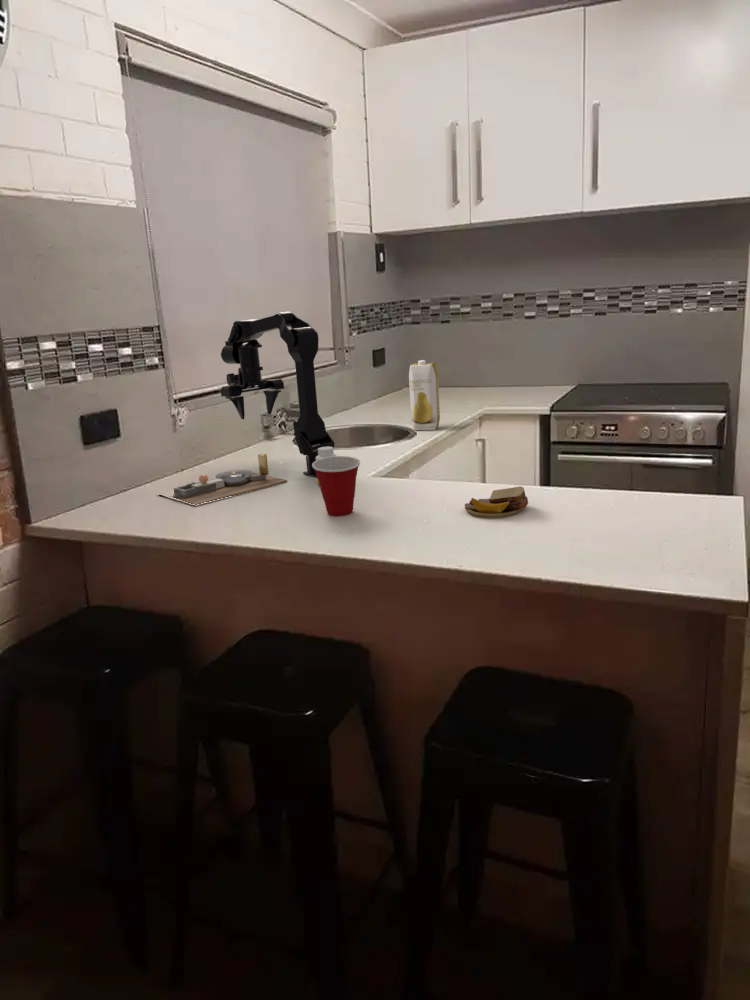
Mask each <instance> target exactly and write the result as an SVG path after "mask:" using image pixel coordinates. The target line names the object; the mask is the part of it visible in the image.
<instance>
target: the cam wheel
mask: <svg viewBox="0 0 750 1000" xmlns="http://www.w3.org/2000/svg"><path fill="white" fill-rule="evenodd" d="M267 455H268V454H267V453H259V454H257V459H258V460H257V461H258V462H257V463H258V469H259V473H258V474H259V475H253V473H254V472H253V471H252V470H250V469H249V470H248V469H235V470H226V471H223V472H219V473H217V474H216V475H215V478H216V479H222V480H224V486H237V485H242V484H246V483H248V482H250V481H255V480H264V479H266V476H265V475H267V476H269V475H270V474H269V473H270V472H269V464H268V456H267Z"/></svg>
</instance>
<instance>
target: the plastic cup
mask: <svg viewBox="0 0 750 1000" xmlns="http://www.w3.org/2000/svg"><path fill="white" fill-rule="evenodd" d="M360 465H361V460H360V459H359V458H357V457H353V456H346V455H345V456H343V455H338V456H335V457H327V458H322V459H319V460H316V461H315V462H313V463H312V467H313V468H314V470H315V472H316V474H317V477H316V478H318V479H317V482H318V481H319V484H320V487H319V488H320V491H321V496H322V498H323V502H324V505H325V509H326V513H327V515H328V516H332V517H343V516H348V515H351V514H352V513H353V512H354V511H353V510H354V501H355V495H356V494H355V493H356V485H357V475H358V471H359V470H358V469H359V466H360Z"/></svg>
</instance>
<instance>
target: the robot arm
mask: <svg viewBox="0 0 750 1000" xmlns="http://www.w3.org/2000/svg"><path fill="white" fill-rule="evenodd" d="M289 328H291V329H289ZM276 330H279V337H280V338H281V339H282V340H283V341H284V342H285V344H286V347H287V352H288V354H289V355H290V357H291V358H292V360H293V361H294V363H295V374H296V375H295V376H296V385H297V396H298V406H299V409H298V410H299V415H298V418H297V420H294V421H293V423H292V426H293V436H294V439H295V441H296V445H297V448H298V450H299V454H300V455H303V456H305V461H306V470H307V471H303V473H302V474H303V475H307V476H311V477H315V478H317V474H316V472H315V470H314V468H313V467H312V463H313V462H315V461H316V456H318V448H321V447H333V450H334V449H335V444H336V443H335V442H334V440H333V438H332V437H331V435H330V434H329V433H328V431H327V430H326V425H325V421H324V419H323V418H322V417H321V416H320V414H319V410H318V409H319V407H318V397H317V387H316V373H315V359H316V356H317V354H318V353H319V333H318V331H316V329H315V328H313V327H312V326H311V325H310V324H309V323H308V322H307V321H304V320H303V319H300V318H299V317H297V316H296V314H294V313H293V312H292V311H283V312H281V311H280V312H277V313H275V314H272V315H269V316H266V317H262V318H259V319H256V318H255V319H243V320H234V322H233V324H232V327H231V330H230V333H229V337H228V338H227V340H226V341H224V344H225V345H224V346H223V347H222V349H221V352H220V357H221V359H222V361H223V362H224V363H225V364H229V365H239V366H240V367H239V368H238V370H237V371H238V373H237V374H235V373H233V372H231V373H228V374H226V383H227V385H224V386H221V389H220V396H221V397H224V398H225V399H227V400H229V401H231V402H232V404H233V405H234V406H235V409H236V410H237V414H238V415H239V417H240V419H241V420H245V401H244V400H245V398H244V396H241V395H242V394H243V393H248V392H255V391H261V390H262V392H263V394H264V396H265V403H266V410H267V415H271V414H272V411H273V409H274V407H275V403H276V400H277V398H278V396H279V393H281V392H282V390H283V389H285V383H284V381H283V380H282V378H270V379H264V380H262V379H263V378H262V373H261V372H262V371H263V370H264V368H263V366H261V363H260V355H259V353H260V352H259V348H262V347H263V345H262V344H261V343H260V342H259V341H258V339H259V338H260V337H262V336H263V334H265V333H269V332H271V331H276Z"/></svg>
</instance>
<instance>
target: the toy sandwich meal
mask: <svg viewBox="0 0 750 1000" xmlns="http://www.w3.org/2000/svg"><path fill="white" fill-rule="evenodd" d="M528 504H529V498H528V497H527V495H526V491H525V488H524V487H523V486H516V487H514V486H513V487H509V488H501V489H495V490H493V491H492V492H491V494H490V496H489V498H479V499H477V498H474V497H471V499H470V501H469V502H468V503H467V502H466V503H464V509H465V511H466V512H467V513H468V514H469V515H471V516H473V517H478V518H484V519H498V518H499V519H501V518H507V517H512V516H514V515H517V514H519V512H520V511H522V510H523V509H525V508H527V507H528Z"/></svg>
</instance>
